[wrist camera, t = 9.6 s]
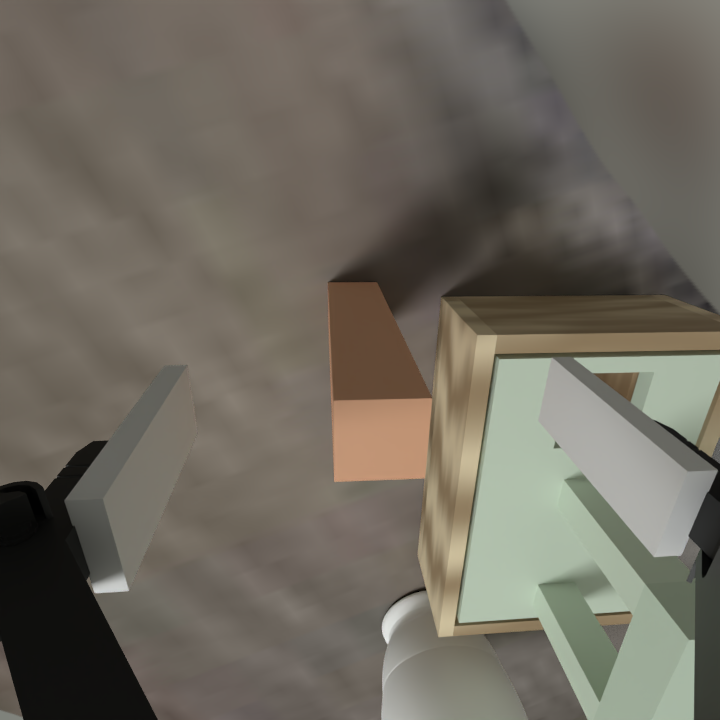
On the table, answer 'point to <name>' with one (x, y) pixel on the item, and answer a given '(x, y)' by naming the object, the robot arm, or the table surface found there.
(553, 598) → the lid
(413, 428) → the key peg
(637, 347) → the wooden box
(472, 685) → the jar
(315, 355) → the table surface
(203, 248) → the table surface
